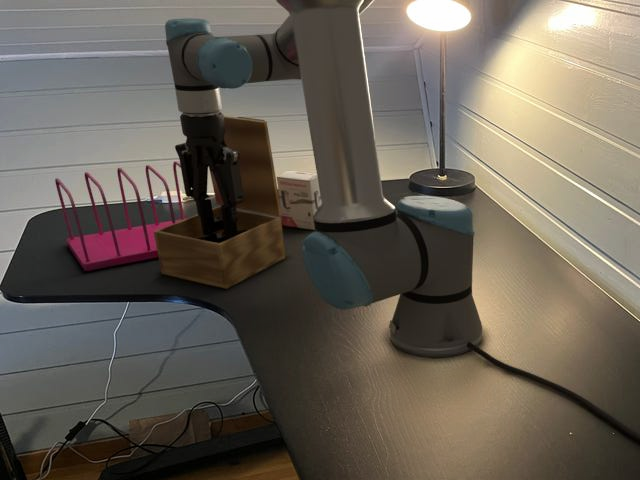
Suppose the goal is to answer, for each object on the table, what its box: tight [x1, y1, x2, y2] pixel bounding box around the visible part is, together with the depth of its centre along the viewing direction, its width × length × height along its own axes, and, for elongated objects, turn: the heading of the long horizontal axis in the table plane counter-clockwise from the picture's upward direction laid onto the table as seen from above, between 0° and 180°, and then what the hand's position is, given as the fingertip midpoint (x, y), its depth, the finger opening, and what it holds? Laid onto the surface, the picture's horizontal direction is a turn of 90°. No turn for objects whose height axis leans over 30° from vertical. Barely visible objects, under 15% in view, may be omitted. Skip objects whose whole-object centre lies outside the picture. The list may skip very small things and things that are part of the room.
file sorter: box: [54, 160, 185, 272], centre depth 151 cm, size 17×25×16 cm
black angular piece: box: [196, 216, 248, 243], centre depth 143 cm, size 12×7×5 cm, turn 123°
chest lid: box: [208, 115, 282, 217], centre depth 146 cm, size 18×16×7 cm
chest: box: [153, 205, 286, 290], centre depth 145 cm, size 18×16×9 cm
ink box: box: [276, 170, 322, 231], centre depth 166 cm, size 9×5×12 cm, turn 73°
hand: (220, 235), depth 143 cm, fingers open, 5 cm apart
